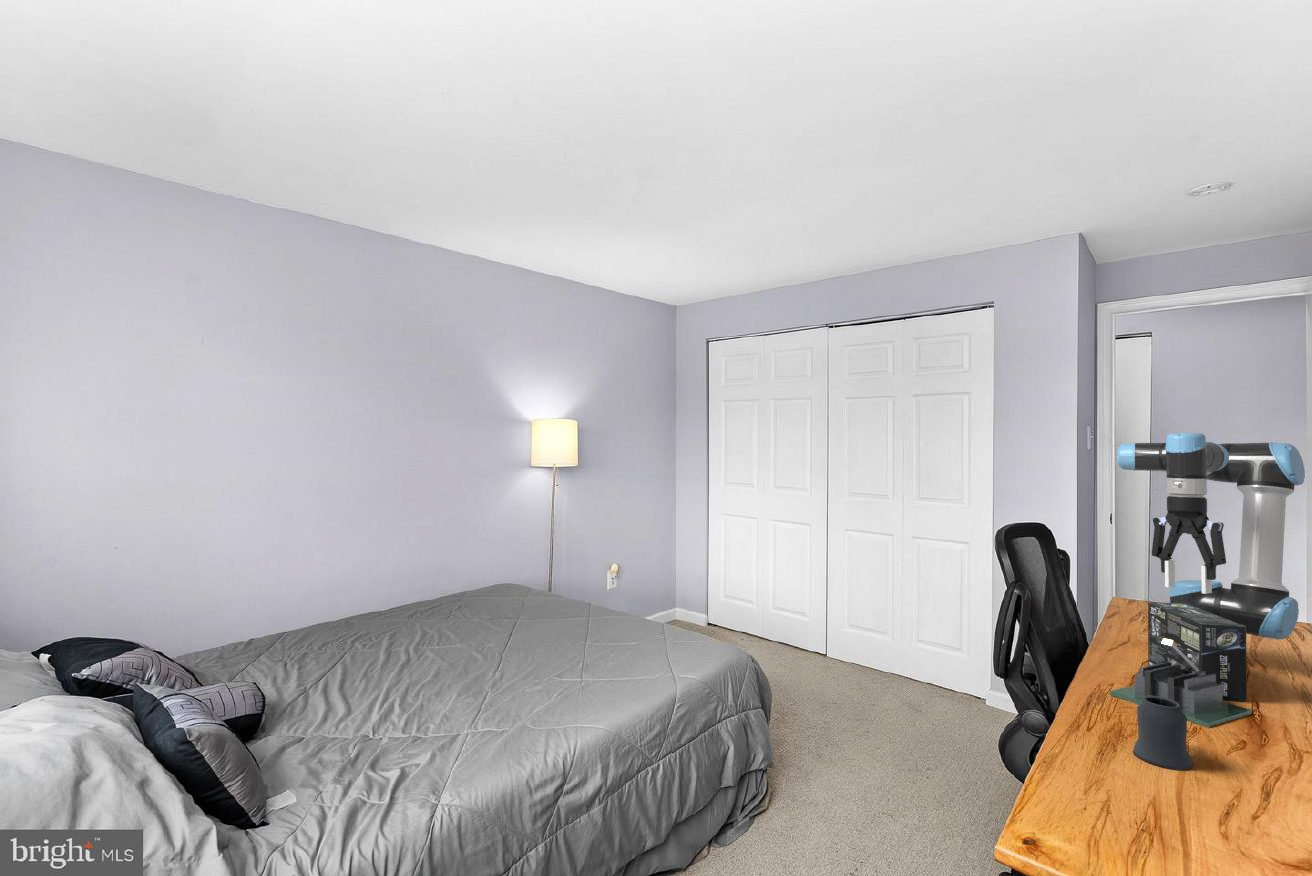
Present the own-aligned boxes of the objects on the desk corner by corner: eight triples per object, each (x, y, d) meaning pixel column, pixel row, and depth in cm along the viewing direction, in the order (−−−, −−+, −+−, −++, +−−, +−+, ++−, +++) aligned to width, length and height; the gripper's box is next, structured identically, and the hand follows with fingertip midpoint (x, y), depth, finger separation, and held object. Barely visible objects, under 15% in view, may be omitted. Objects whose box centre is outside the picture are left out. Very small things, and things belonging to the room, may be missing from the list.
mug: (1195, 775, 114) (1194, 714, 114) (1133, 760, 120) (1132, 702, 120) (1189, 751, 124) (1188, 695, 124) (1132, 738, 129) (1131, 684, 129)
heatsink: (1152, 684, 161) (1152, 653, 161) (1251, 714, 142) (1250, 679, 143) (1110, 694, 153) (1109, 662, 154) (1208, 727, 135) (1208, 690, 135)
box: (1249, 703, 149) (1248, 624, 150) (1201, 699, 151) (1200, 622, 152) (1187, 671, 172) (1186, 602, 172) (1147, 668, 174) (1146, 600, 174)
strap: (1189, 673, 153) (1191, 667, 153) (1203, 677, 150) (1205, 671, 150) (1159, 643, 148) (1161, 637, 148) (1173, 646, 145) (1175, 640, 145)
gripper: (1132, 493, 159) (1133, 583, 158) (1228, 498, 141) (1230, 599, 140) (1149, 493, 162) (1150, 580, 161) (1245, 498, 144) (1247, 597, 143)
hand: (1187, 589), depth 151 cm, fingers open, 7 cm apart
